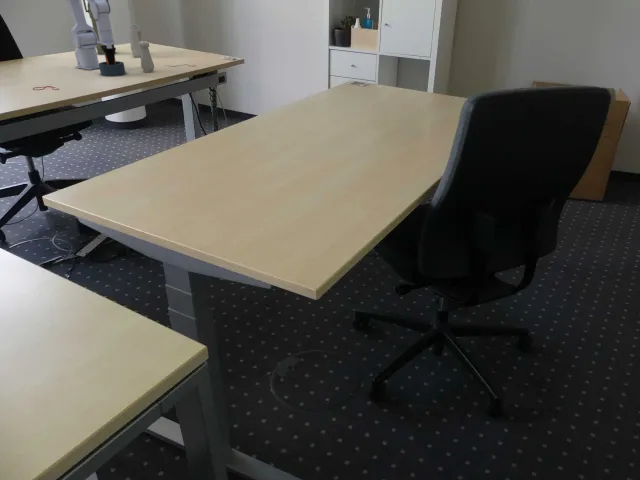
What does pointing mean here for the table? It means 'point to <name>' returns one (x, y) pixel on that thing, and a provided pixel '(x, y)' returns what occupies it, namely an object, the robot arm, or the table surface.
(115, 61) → the shaker
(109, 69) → the dark blue bowl
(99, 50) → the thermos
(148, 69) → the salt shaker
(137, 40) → the energy drink can
